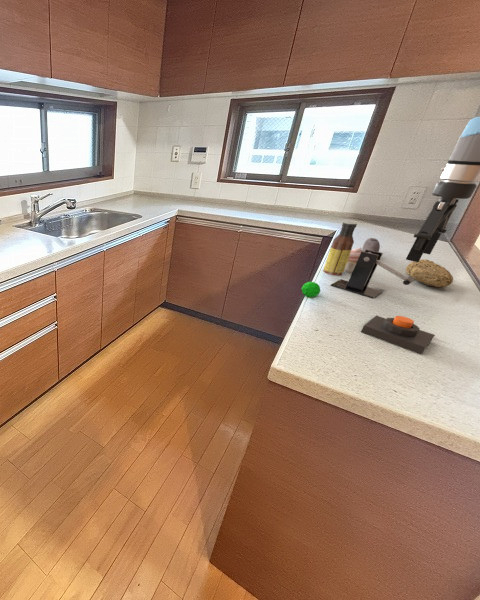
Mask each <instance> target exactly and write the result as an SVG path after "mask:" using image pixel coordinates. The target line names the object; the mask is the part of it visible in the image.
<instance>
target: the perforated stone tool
mask: <svg viewBox="0 0 480 600" xmlns="http://www.w3.org/2000/svg"><path fill="white" fill-rule="evenodd" d="M366 249H367V250H372V251H376V252H380V249H381V243H380V241H379V240H378V239H377V238H374V237H369V238H367V239H366V240H365V241H364V243H363V245H362V251H363V252H365V250H366Z"/></svg>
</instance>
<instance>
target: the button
mask: <svg viewBox="0 0 480 600" xmlns="http://www.w3.org/2000/svg"><path fill="white" fill-rule="evenodd" d="M393 318H394V320H393V322H392V323H393V324H395V325H397V326H400V327H403V328H411V327H412V325H413V324H415V321H414V320H413V319H412V318H409V317H406V316H402V315H396V316H395V317H393Z"/></svg>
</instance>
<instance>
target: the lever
mask: <svg viewBox="0 0 480 600" xmlns="http://www.w3.org/2000/svg"><path fill="white" fill-rule="evenodd" d="M368 253H371V252H368ZM372 254H373V253H372ZM375 264H377V266H379V267H381V268H382V269H383V270H385V271H387V272H389V273H391V274H392V275H394V276H396V277H398V278H399V279H400V280H403V281H402V284H403V285H404V286H409V285H411V284H412V283H413V282H414V281H415V278H414V277H412V276H409V277H408V276H406V275H405V274H403V273H402V272H399V271H398V270H396V269H395V268H392V267H391V266H389V265H387V264H386V263H384V262H382V261H381V260H376V263H375Z"/></svg>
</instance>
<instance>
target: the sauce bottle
mask: <svg viewBox="0 0 480 600" xmlns="http://www.w3.org/2000/svg"><path fill="white" fill-rule="evenodd" d="M357 225H358V224H357V222H353V221H342V224H341V228H340V232H339V234H338V235H337V236H336V237H335V238H334V239H333V240H332V243H331V246H330V249H329V251H328V254H327V257H326V259H325V263H324V267H323V270H322V271H323V273H324V274H328V275H331V276H335V277H338V276H339V277H340V276H342V275H343V273H345V272H344V269H345V266H346V264H347V261H348V258H349V256H350V253H351V250H353V247H354V243H355V241H354V236H353V235H354V232H355V230H356V228H357Z"/></svg>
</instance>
